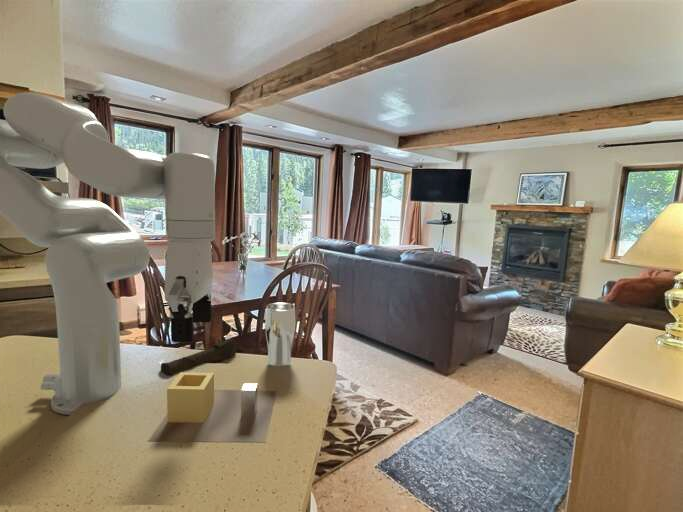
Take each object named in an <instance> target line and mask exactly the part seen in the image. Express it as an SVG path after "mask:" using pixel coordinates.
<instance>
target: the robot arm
mask: <svg viewBox="0 0 683 512" xmlns="http://www.w3.org/2000/svg"><path fill="white" fill-rule="evenodd" d="M3 116H4V118H5V119H0V215H1V216H2V217H3V218H5V220H7V222H9V223H10V225H11V226H12V227H13V228H14V229H15V230H16V231H17V232H18V233H20V235H22V236H23V237H24V238H25V239H26V240H27V241H29V243H31V244H33V245H35V246H37V247H39V248H40V247H41V248H47V250H46V253H45V259H44V261H45V268H46V272H47V274H48V277H49V281H50V283H51V288H52V291H53V296H54V304H55V315H56V328H57V330H56V331H57V345H58V359H59V374H56V373H55V374H54V373H51V374H50V373H48V374H45V375H44V376H43V379H42V383H41V385H40V390H41V391H42V390H44V391H49V390H53V392H54V395H53V396H52V398H51V400H50V406H51V409H52V411H54V412H55V413H57V414H61V415H67V416H70V415H71V414H72V413H74V412H75V411H76V410H77V409H78V408H79V407H81V406H82V405H83V404H90V403H95V402H98V401H102V400H105V399H107V398H110V397H111V396H113V395H116V393H118V392H119V391H120V389H121V388H122V368H121V367H122V366H121V365H122V364H121V363H122V362H121V342H120V341H121V339H120V338H121V337H120V336H121V335H120V333H121V332H120V315H119V305H118V301H117V299H116V297H115V296H114V294H113V293H112V291H111V290H110V288H109V287H108V284H107V283H110V282H114V281H118V280H124V279H127V278H130V277H134V276H136V275H139V274H141V273H143V272H144V271H145V270H146V269H147V267H148V266H149V263H150V257H151V256H150V255H151V254H150V249H149V247H148V245H147V243H146V242H145V240H144V238H143V237H142V236H141V235H140V234H139V233H138V232H137V231H136V230H135V229H134V228H133V227H132V226H131V225H129V224H128V223H127V222H126V221H125V220H124V219H123V217H121V216H120V215H119V214H118V213H116V211H114V210H113V209H112V208H111V207H110V206H108V205H107V204H106V203H103V202H102V201H100V200H97V199H95V198H89V197H87V198H86V197H70V196H69V197H68V196H61V195H57V194H56V193H53V192H52V191H50V190H49V189H48V188H47V187H46V186H45V185H44V184H42V182H41V181H40V180H39V179H37V178H36V177H35V176H33V175H31V174H30V173H28V172H26V171H24V170H22V169H20V168H28V169H39V170H41V169H42V170H43V169H44V170H46V169H52V168H55V167H57V166H60V165H62V164H64V165H65V167H66V169H67V171H68V172H69V173H70V174H71V175H72V176H73V177H74V178H75V179H77V180H78V181H81V182H83V183H84V184H87V185H88V186H90V187H92V188H94V189H96V190H98V191H99V192H101V193H104V194H107V195H110V196H112V197H113V196H114V197H117V198H118V197H120V198H128V199H130V198H133V199H134V198H135V199H136V198H137V199H140V198H141V199H148V200H149V199H151V200H152V199H153V200H154V199H156V200H157V199H158V200H164V207H165V208H164V210H165V234H166V236H165V237H166V238H165V240H166V241H167V246H166V247H167V248H166V251H165V252H166V254H165V267H164V300H165V301H166V302H167V303H168V304H169V306H168V310H169V318H170V336H171V337H170V339H171V342H173V343H191V342H193V341H194V323H211V321H212V293H211V290H212V288H213V259H212V257H213V255H212V254H213V253H212V243H211V242H212V241H213V242H214V241H216V190H215V189H216V178H215V174H216V172H215V163H214V160H213V159H212V158H211V157H210V156H208V155H206V154H201V153H195V152H193V153H192V152H170V153H168V155H167V154H165V155H164V154H160V153H154V152H151V151H146V150H140V149H136V148H132V147H131V148H130V147H124V146H121V145H118V144H116V143H113V142H110V138H109V134H108V131H107V129H106V127H104V125H102V123H101V122H99V120H98V118H97V117H96V116H95V114H94V113H93V112H92V111H90V110H89V109H88V108H86V107H85V106H83V105H80V104H78V103H74V102H69V101H68V100H67V101H66V100H63V99H59V98H55V97H53V96H50V95H46V94H41V93H38V92H29V91H28V92H26V91H25V92H18V93H16V94H13V95H11V96H10V97H9V98H8V99H7V100H6V101H5V102H4V106H3ZM18 167H19V168H18ZM184 305H185V306H186V307H185V306H184ZM191 315H192V316H191Z"/></svg>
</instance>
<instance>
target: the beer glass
mask: <svg viewBox="0 0 683 512" xmlns="http://www.w3.org/2000/svg"><path fill="white" fill-rule="evenodd" d="M264 320H265V322H264V323H265V325H264V328H265V329H264V330H265V339H266V343H267V360H266V365H267V366H268V365H270V366H272V367H286V366H292V365H293V363H292V359H291V358H292V357H291V356H292V355H291V353H292V352H291V351H292V345H293V340H294V336H295V330H296V307H295V305H294V304H292V303H290V302H272V303H269V304H267V305H266V309H265V319H264Z"/></svg>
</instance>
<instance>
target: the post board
mask: <svg viewBox="0 0 683 512" xmlns="http://www.w3.org/2000/svg"><path fill="white" fill-rule="evenodd" d="M277 391H278V390H263V389H262V390H258V383H243V385H242V387H241V389H214V404H213V406H212V408H211V410H210V412H209V414H208V416H207V418H206V420H205V421H204V423H201V422H168V417H167V414H166V415H165V416H164V417H163V420H162V421H161V422H160V423H159V425H158V426H157V428H155V431H154V432H153V433H152V435H151V436H150V437H149V439H148V440H147V442H154V443H155V442H156V443H158V442H160V443H161V442H164V443H165V442H169V443H172V442H174V443H175V442H177V443H181V442H182V443H183V442H184V443H266V439H267V437H268V436H267V435H268V431H269V427H270V422H271V417H272V413H273V409H274V404H275V400H276V395H277Z"/></svg>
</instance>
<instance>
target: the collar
mask: <svg viewBox="0 0 683 512" xmlns="http://www.w3.org/2000/svg"><path fill="white" fill-rule="evenodd" d="M214 390H215V372H186V371H184V372H183V371H180V372H178V374H177V376H176V377H175V378H174V379H173V381H172V382H171V383H170V385H169V386H168V387H167V388H166V401H167V403H166V404H167V405H166V406H167V408H166V409H167V410H166V411H167V414H166V415H167V417H168V422H201V423H204V421H205V420H206V418H207V416H208V414H209V412H210V410H211V408H212V406H213V404H214Z"/></svg>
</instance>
